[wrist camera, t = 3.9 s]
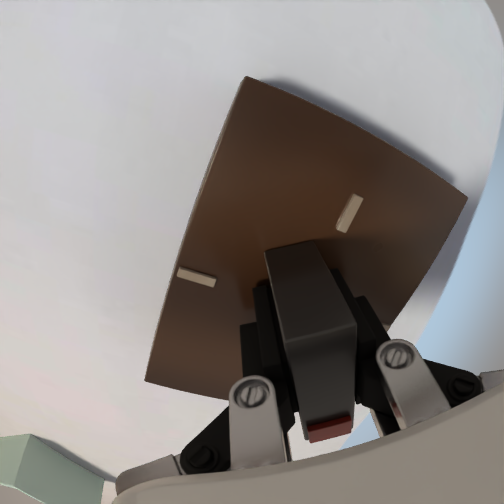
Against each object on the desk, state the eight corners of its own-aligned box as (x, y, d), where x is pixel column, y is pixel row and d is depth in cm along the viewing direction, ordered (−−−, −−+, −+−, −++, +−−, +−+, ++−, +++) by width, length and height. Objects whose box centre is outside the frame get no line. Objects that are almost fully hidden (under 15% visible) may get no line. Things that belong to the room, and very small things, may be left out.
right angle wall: (-3, 437, 25) (-17, 477, 18) (30, 433, 23) (13, 485, 16) (59, 478, 30) (51, 516, 24) (104, 479, 28) (97, 526, 22)
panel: (241, 81, 11) (245, 75, 8) (431, 177, 13) (471, 199, 10) (153, 341, 17) (143, 384, 14) (308, 375, 19) (318, 414, 16)
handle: (263, 251, 11) (284, 349, 7) (313, 239, 11) (361, 329, 7) (286, 355, 13) (306, 446, 9) (325, 346, 13) (354, 434, 9)
